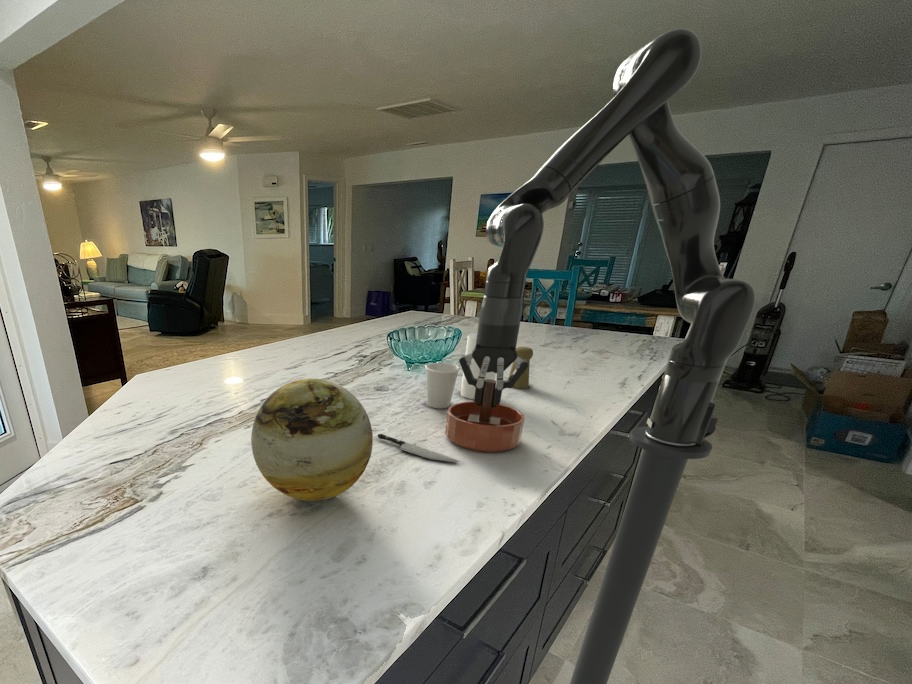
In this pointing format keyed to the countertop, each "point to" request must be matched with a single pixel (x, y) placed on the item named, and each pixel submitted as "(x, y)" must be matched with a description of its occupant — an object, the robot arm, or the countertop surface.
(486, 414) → the scrub brush
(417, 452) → the chef's knife
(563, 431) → the countertop surface
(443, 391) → the dixie cup
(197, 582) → the countertop surface
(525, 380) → the olive pepper shaker
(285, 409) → the decorative sphere
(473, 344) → the white tall cylinder
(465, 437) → the bowl
